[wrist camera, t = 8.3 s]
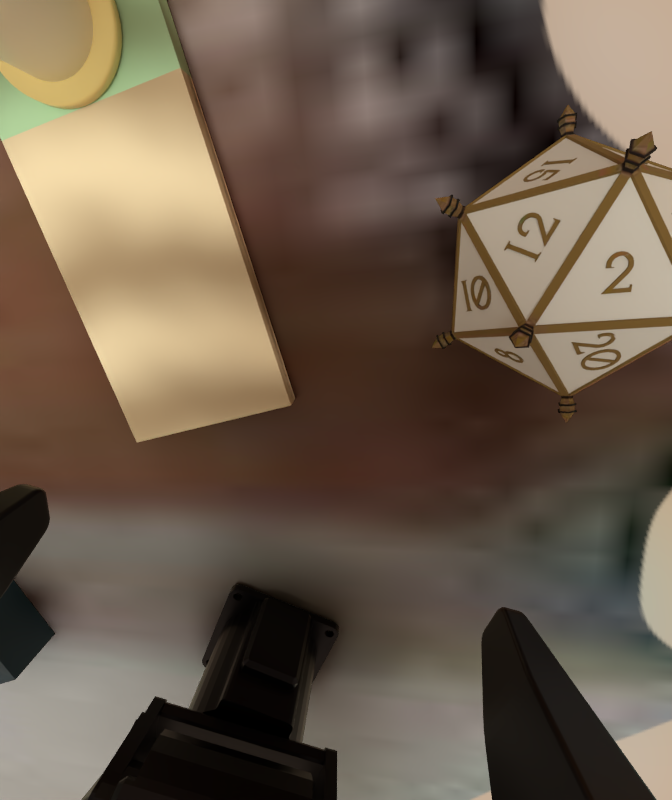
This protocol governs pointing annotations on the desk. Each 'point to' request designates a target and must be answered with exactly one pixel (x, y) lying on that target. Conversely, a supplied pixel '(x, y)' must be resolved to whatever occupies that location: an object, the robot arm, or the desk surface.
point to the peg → (60, 49)
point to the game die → (567, 263)
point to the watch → (19, 633)
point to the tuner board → (150, 237)
